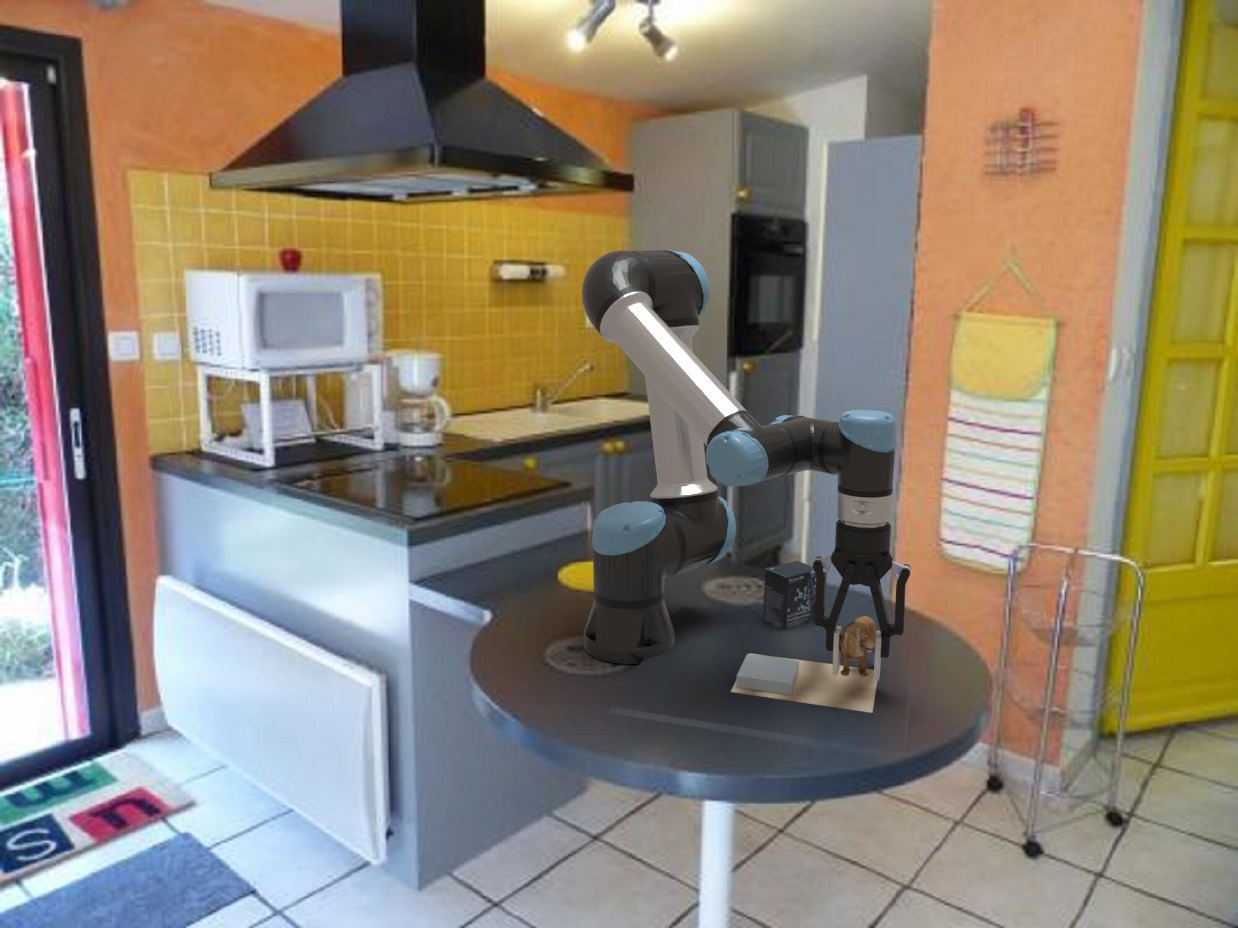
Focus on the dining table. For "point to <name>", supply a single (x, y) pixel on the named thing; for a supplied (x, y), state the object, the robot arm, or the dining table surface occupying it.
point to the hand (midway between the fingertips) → (856, 673)
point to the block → (768, 674)
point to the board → (826, 687)
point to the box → (789, 595)
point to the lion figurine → (857, 643)
